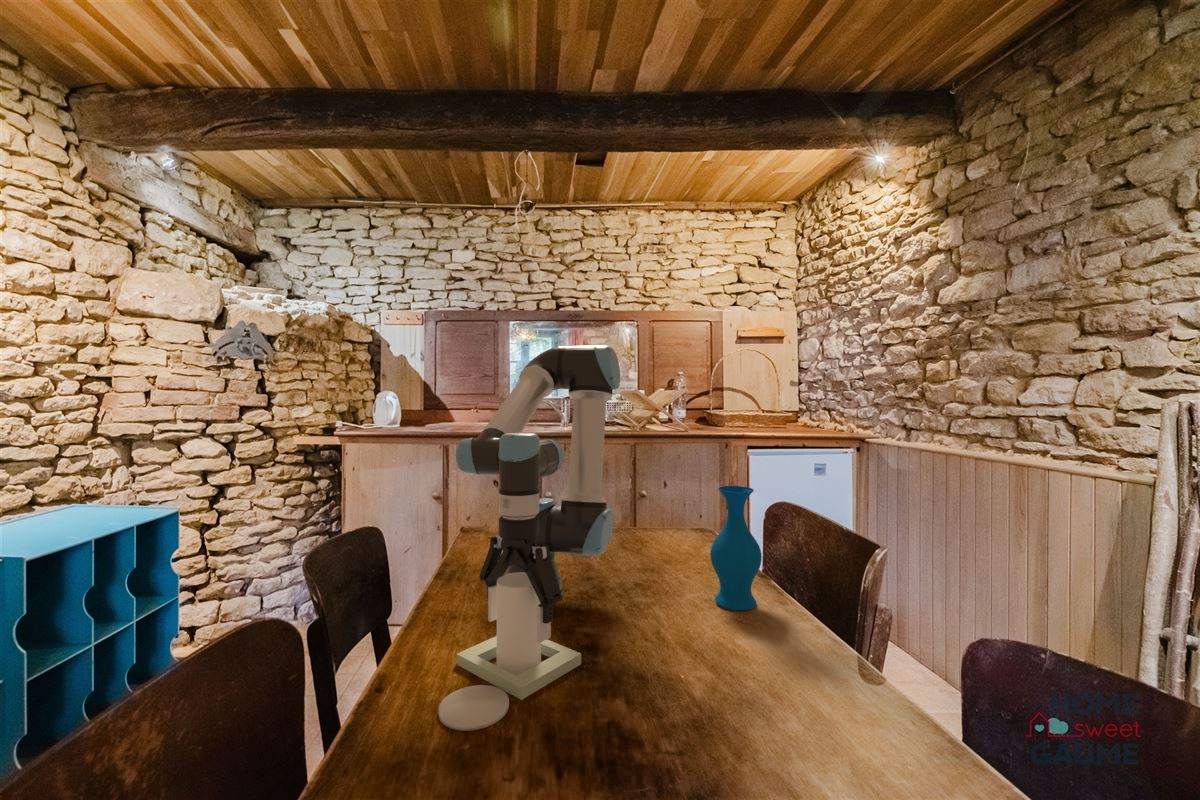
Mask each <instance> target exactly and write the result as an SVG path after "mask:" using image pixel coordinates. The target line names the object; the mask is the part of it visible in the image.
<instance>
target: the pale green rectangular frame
mask: <svg viewBox="0 0 1200 800" xmlns="http://www.w3.org/2000/svg"><path fill="white" fill-rule="evenodd" d="M541 655H543V656H546V657H548V658H547V659H545V660H543V661H541V663H539V664H537V665H535V666H533V667H532V668H530V669H528V670H526V671H524V672H522V673H521V674H519V675H517V676H516V675H514V674H512V673H510V672H508V671H506V670H504V669H502V668H500V667H498V666H497V664H494V663H492V662H490V661H491V660H493V659H495V658H497V635H495V636H492V637H490V638H488V639H486V640H484V641H482V642H480V643H477V644H476V645H473V646H471V647H468V648H467V649H465V650H462V651H460V652H458V653H456V655H455V656H456V658H455V660H456V661H455V662H456V666H459V667H460V668H462V669H463V670H466V671H468V672H469V673H471V674H472V675H475V676H477V677H478V678H480V679H482V680H484V681H486V682H488V683H490V684H492V686H494V687H497V688H500V689H501V690H503V691H504V692H505V693H508V694H509V695H512V696H513V697H515V698H517V699H519V700H520V701H523V700H524V699H526V698H527V697H529V696H530V695H532V694H534V693H535V692H537V691H539V690H540V689H543V688H544V687H545V686H547V685H549V684H551V683H552V682H554V681H556V680H557V679H558V678H561V677H562V676H565V674H567V673H569V672H570V671H572V670H574V669H576V668H577V667H579V666H581V665H582V653H580V652H578V651H576V650H573V649H571V648H569V647H566V646H564V645H561V644H559V643H557V642H554V641H552V640H550V639H546V640H544V641H542V642H541Z"/></svg>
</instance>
